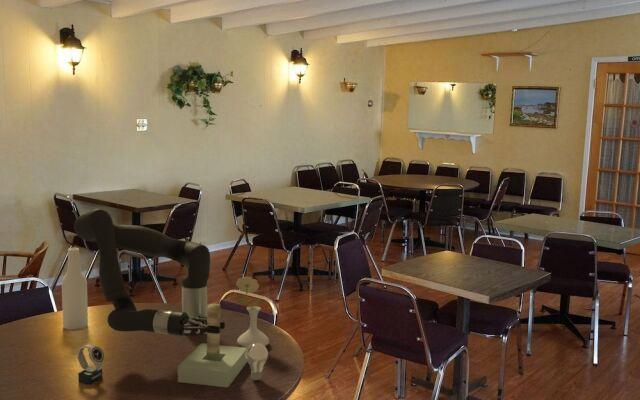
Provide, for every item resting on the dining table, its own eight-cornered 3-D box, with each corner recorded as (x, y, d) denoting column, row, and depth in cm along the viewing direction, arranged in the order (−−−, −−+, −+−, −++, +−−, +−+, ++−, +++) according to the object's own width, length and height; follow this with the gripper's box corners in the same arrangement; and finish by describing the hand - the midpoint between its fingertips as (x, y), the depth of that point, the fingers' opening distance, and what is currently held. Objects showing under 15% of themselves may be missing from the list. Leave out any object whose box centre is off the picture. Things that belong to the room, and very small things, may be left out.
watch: (95, 386, 195) (94, 351, 193) (73, 381, 198) (72, 346, 196) (107, 379, 200) (107, 344, 198) (86, 374, 203) (85, 340, 201)
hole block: (201, 357, 219) (201, 343, 218) (247, 362, 216) (247, 347, 215) (177, 382, 199) (177, 366, 198) (228, 387, 196) (228, 371, 196)
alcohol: (57, 328, 242) (55, 249, 238) (74, 321, 251) (72, 245, 246) (76, 332, 239) (74, 252, 235) (93, 324, 247) (91, 247, 243)
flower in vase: (274, 343, 233) (276, 275, 230) (258, 354, 223) (260, 283, 220) (243, 337, 239) (244, 271, 235) (226, 347, 229) (227, 278, 225)
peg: (209, 351, 209) (210, 303, 207) (221, 352, 208) (222, 304, 206) (204, 355, 205) (205, 306, 203) (217, 357, 204) (217, 307, 202)
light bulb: (245, 375, 205) (245, 339, 203) (267, 375, 206) (268, 339, 204) (244, 385, 198) (245, 347, 196) (267, 385, 199) (268, 347, 197)
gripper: (161, 318, 200) (214, 323, 197) (179, 304, 214) (229, 309, 211) (161, 341, 201) (214, 347, 198) (179, 326, 215) (229, 331, 212)
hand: (221, 327), depth 205 cm, fingers closed on peg, 4 cm apart
